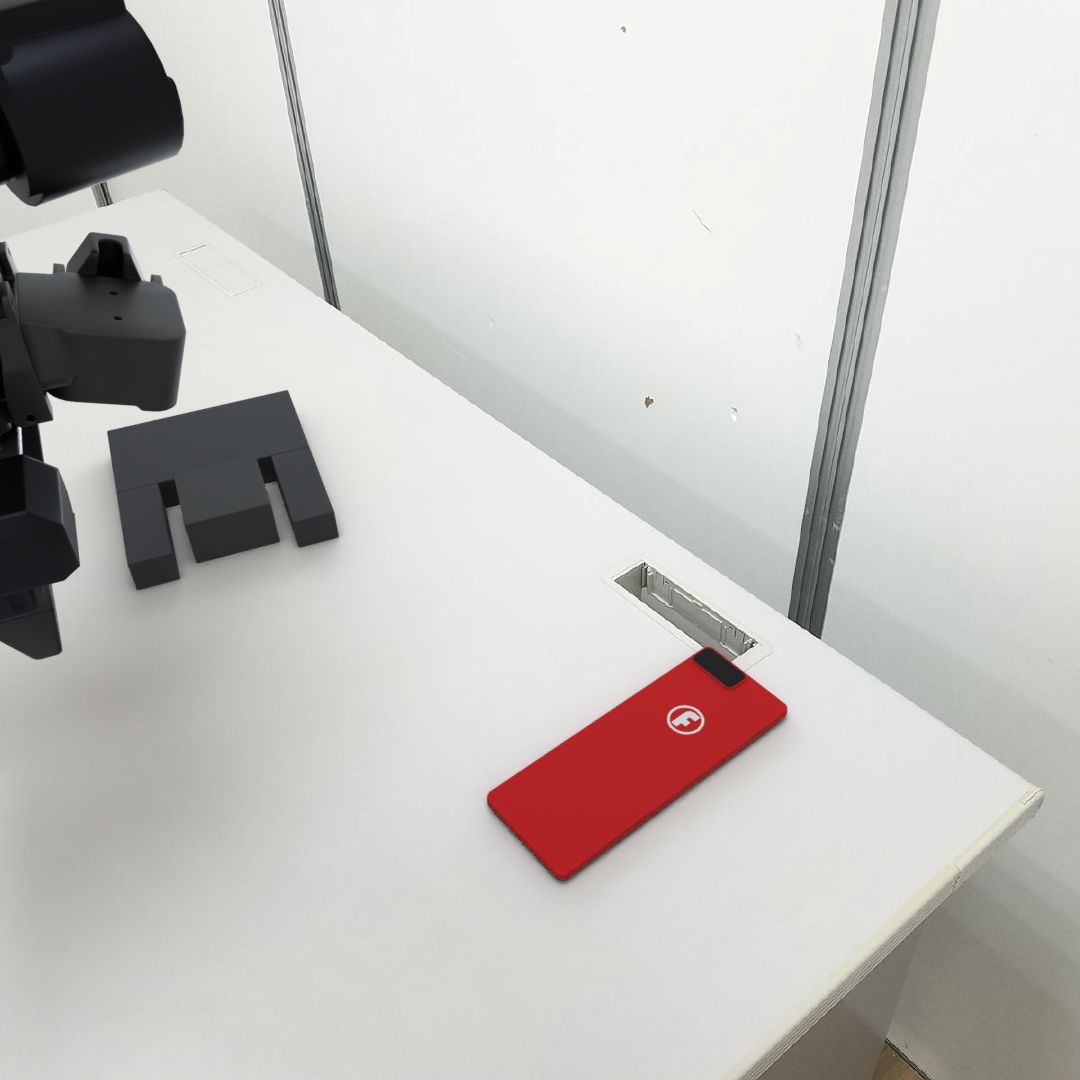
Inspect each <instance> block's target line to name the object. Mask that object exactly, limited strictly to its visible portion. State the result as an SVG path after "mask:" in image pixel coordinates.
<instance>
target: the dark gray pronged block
mask: <svg viewBox="0 0 1080 1080" xmlns="http://www.w3.org/2000/svg"><path fill="white" fill-rule="evenodd" d="M106 435H107V441H108V442H107V443H108V447H109V454H110V459H111V465H112V473H113V479H114V486H115V493H116V499H117V507H118V513H119V519H120V525H121V533H122V538H123V539H122V540H123V545H124V552H125V557H126V563H127V565H126V566H127V568H128V570H129V573H130V575H131V578H132V581H133V583H134V586H135V589H136V590H141V589H145V588H149V587H153V586H156V585H161V584H164V583H168V582H171V581H176V580H179V579H181V575H180V569H179V565H178V560H177V555H176V550H175V546H174V541H173V536H172V532H171V531H172V530H171V527H170V521H169V517H168V510H167V508H168V507H173V506H176V505H180V502H179V498H178V493H177V489H176V484H175V480H174V475H178V474H183V473H187V472H191V471H195V470H199V469H203V468H207V467H211V466H216V465H220V464H224V463H228V462H232V461H236V460H240V459H245V458H249V457H253V456H256V459H257V462H258V465H259V468H260V471H261V475H262V478H263V481H264V484H265V483H269V482H273V481H276V483H277V488H278V489H279V492H280V495H281V498H282V499H281V500H282V502H283V505H284V507H285V508H284V509H285V511H286V513H287V517H288V519H289V523H290V526H291V529H292V531H293V535H294V538H295V542H296V544H297V547H298V548H301V547H305V546H308V545H313V544H317V543H320V542H324V541H327V540H331V539H335V538H338V537H339V536H340V534H339V530H338V524H337V519H336V515H335V514H336V513H335V511H334V510H335V509H334V508H333V505H332V503H331V500H330V497H329V494H328V492H327V489H326V487H325V484H324V482H323V479H322V476H321V474H320V471H319V468H318V465H317V463H316V460H315V457H314V455H313V452H312V450H311V447H310V445H309V442H308V441H309V440H308V439H307V436H306V434H305V431H304V428H303V426H302V423H301V421H300V418H299V415H298V413H297V410H296V407H295V405H294V402H293V399H292V397H291V394H290V392H289V390H288V389H284V390H281V391H280V390H279V391H276V392H272V393H267V394H263V395H258V396H254V397H250V398H246V399H240V400H236V401H233V402H227V403H223V404H219V405H215V406H210V407H205V408H202V409H197V410H193V411H189V412H184V413H180V414H175V415H171V416H166V417H162V418H157V419H152V420H148V421H144V422H140V423H136V424H131V425H126V426H123V427H118V428H114V429H109V430H107V431H106Z"/></svg>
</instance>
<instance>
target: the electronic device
mask: <svg viewBox="0 0 1080 1080" xmlns="http://www.w3.org/2000/svg"><path fill="white" fill-rule="evenodd" d="M787 715H788V705H787V704H786V702H784V701H782V699H780V698H778V696H776V695H775V694H774V693H772V692H771V691H770V690H768V689H767V688H766V687H764V685H762V684H761V683H759V682H758V681H757V680H755V679H754V678H753V677H752V676H750V675H749V674H747V673H746V671H744V670H742V669H741V668H740V667H739V666H737V665H736V664H735V663H733V662H732V661H731V660H730V659H729V658H728V657H726V656H725V655H723V654H722V653H721V652H719V651H718V650H717V649H715V648H714V647H712V646H705V647H702V648H701V649H699V650H698V651H696V652H695V653H693V654H692V655H691V656H689V657H687V658H686V659H685V660H683V661H681V662H680V663H679V664H677V665H676V666H674V667H672V668H671V669H669V670H668V671H667V672H666V673H664V674H662V675H660V676H659V677H658V678H656V679H655V680H653V681H652V682H650V683H648V684H647V685H646V686H644V687H643V688H641V689H640V690H639V691H637V692H636V693H634V694H632V695H631V696H629V697H628V698H626V699H625V700H623V701H622V702H620V703H619V704H618V705H616V706H615V707H613V708H612V709H610V710H608V711H607V712H606V713H604V714H603V715H601V716H600V717H598V718H597V719H595V720H594V721H592V722H591V723H589V724H588V725H586V726H585V727H583V728H582V729H581V730H579V731H577V732H576V733H575V734H572V736H570V737H568V738H567V739H565V740H563V741H562V742H561V743H560V744H558V745H557V746H555V747H554V748H552V749H551V750H549V751H547V752H546V753H545V754H543V755H541V756H540V757H539V758H537V759H535V760H534V761H532V762H531V763H530V764H528V765H527V766H525V767H524V768H522V769H521V770H519V771H518V772H516V773H515V774H513V775H512V776H510V777H509V778H508V779H506V780H504V781H503V782H501V783H500V784H499V785H497V786H495V787H494V788H492V789H491V790H489V791H488V793H487V795H486V803H487V806H488V808H490V809H491V810H492V811H493V812H494V814H495V815H496V816H497V817H498V818H499V819H500V820H501V821H502V822H503V823H504V824H505V826H506V827H508V829H509V830H511V832H512V833H513V834H514V835H515V836H516V837H517V838H518V839H519V840H520V841H521V843H523V844H524V845H525V847H527V849H528V850H529V851H530V852H531V853H532V854H533V855H534V857H536V859H538V860H539V861H540V862H541V864H542V865H543V866H544V867H545V868H546V869H547V870H548V871H549V872H550V873H551V875H553V876H554V878H556V879H557V880H560V881H566V880H569V879H570V878H571V877H572V876H574V875H576V874H577V873H578V872H580V871H581V870H582V869H583V868H585V867H586V866H588V865H589V864H590V863H592V862H593V861H594V860H596V859H598V857H600V856H601V855H603V853H606V852H607V850H609V849H610V848H612V847H613V846H614V845H616V844H617V843H619V842H620V841H621V840H622V839H624V838H625V837H626V836H628V835H629V834H631V833H632V832H633V831H634V830H636V829H637V828H639V827H640V826H641V825H642V824H644V823H646V821H649V819H650V818H653V816H654V815H656V814H657V813H658V812H660V811H661V810H662V809H664V808H665V807H667V806H668V805H670V804H671V803H672V802H673V801H675V800H676V799H677V798H679V797H681V795H683V794H685V792H687V791H688V790H690V789H691V788H692V787H694V786H695V785H697V784H698V783H699V782H700V781H701V780H703V779H704V778H706V777H707V776H708V775H710V774H711V773H712V772H714V771H715V770H716V769H718V768H719V767H721V766H722V765H723V764H724V763H726V762H727V761H728V760H730V759H731V758H733V757H734V756H735V755H736V754H738V753H739V752H741V751H742V750H743V749H745V748H746V747H747V746H749V745H750V744H752V743H753V742H754V741H755V740H757V739H758V738H759V737H761V736H762V735H763V734H765V733H767V731H769V730H770V729H771V728H772V727H774V726H775V725H777V724H778V723H780V722H781V721H782V720H784V719H785V718H786V717H787Z"/></svg>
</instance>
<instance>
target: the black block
mask: <svg viewBox="0 0 1080 1080" xmlns="http://www.w3.org/2000/svg"><path fill="white" fill-rule="evenodd" d="M174 480H175V484H176V489H177V493H178V498H179V502H180V504H179V507H180V511H181V516H182V520H183V524H184V528H185V531H186V534H187V537H188V540H189V544H190V547H191V550H192V552H193V556H194V559H195V562H196V563H198V564H199V563H201V562H206V561H209V560H213V559H217V558H218V559H219V558H221V557H225V556H229V555H233V554H237V553H240V552H243V551H248V550H251V549H252V550H253V549H256V548H259V547H263V546H267V545H271V544H276V543H279V542H280V541H281V539H280V536H279V532H278V528H277V523H276V520H275V519H276V518H275V515H274V511H273V506H272V504H271V503H272V502H271V499H270V497H269V493H268V491H267V488H266V485H265V483H264V481H263V478H262V475H261V471H260V468H259V465H258V462H257V459H256V456H253V457H249V458H245V459H240V460H236V461H232V462H228V463H224V464H220V465H216V466H211V467H207V468H203V469H199V470H195V471H191V472H187V473H183V474H178V475H174Z"/></svg>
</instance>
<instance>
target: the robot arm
mask: <svg viewBox="0 0 1080 1080" xmlns="http://www.w3.org/2000/svg"><path fill="white" fill-rule="evenodd" d="M183 112H184V111H183V107H182V102H181V97H180V93H179V91H178V86H177V84H176V81H175V80H174V79H173V78H172V77H171V76H168V75H167V72H166V69H165V67H164V64H163V62H162V60H161V58H160V56H159V54H158V52H157V50H156V48H155V46H154V44H153V42H152V41H151V39H150V38H149V36H148V35H147V32H146V31H145V30H144V28H143V27H142V25H141V24H140V23H139V22H138V21H137V19H136V17H134V16H133V15H132V13H131V12H130V11H129V10H128V9H127V5H126V2H125V0H0V187H1V186H4V185H5V186H6V187H7V188H8V189H9V191H10V192H11V193H12V194H13V195H14V196H15V197H17V198H18V199H19V200H20V201H21V202H22V203H23V204H25V205H27V206H30V207H35V208H36V207H39V206H41V205H44V204H48V203H50V202H52V201H55V200H59V199H62V198H64V197H67V196H69V195H72V194H74V193H79V192H80V191H83V190H86V189H88V188H92V187H94V186H97V185H99V184H100V185H101V184H102V183H106V182H108V181H111V180H114V179H117V178H119V177H122V176H125V175H127V174H131V173H134V172H136V171H139V170H142V169H145V168H147V167H150V166H153V165H155V164H158V163H162V162H165V161H166V160H169V159H172V158H174V157H176V156H178V154H179V153H180V151H181V150H182V148H183V144H184V138H185V119H184V113H183ZM186 337H187V328H186V325H185V321H184V316H183V313H182V310H181V306H180V303H179V299H178V296H177V294H176V292H175V291H174V290H173V289H171V288H170V287H169V286H167V285H165V284H164V281H163V277H162V275H161V274H153V273H152V274H150V281H149V280H146V279H145V277H144V275H143V271H142V269H141V266H140V264H139V262H138V260H137V257H136V255H135V252H134V251H133V248H132V246H131V243H130V241H129V239H128V237H126V236H125V235H121V234H112V233H104V232H95V231H90V232H88V233H87V235H86V236H85V238H84V239H83V241H82V242H81V243H80V244H79V246H78V247H77V249H76V250H75V251H74V253H73V255H72V256H71V257H70V259H69V260H68V262H67V263H66V265H65V264H63V263H56V262H55V263H52V273H46V272H45V273H44V272H43V273H41V272H21V271H19V269H18V268H17V265H16V262H15V260H14V257H13V255H12V251H11V249H10V247H9V245H8V243H7V241H5V240H4V241H0V642H1V643H2V644H4V645H7V646H8V647H10V648H12V649H13V650H16V651H17V652H19V653H21V654H23V655H24V656H27V657H28V658H30V659H32V660H35V661H39V660H44V659H48V658H51V657H56V656H59V655H60V654H61V653H62V652H63V642H62V637H61V636H62V635H61V631H60V623H59V618H58V617H59V616H58V612H57V611H58V610H57V606H56V602H55V601H56V600H55V595H54V589H53V584H57V583H61V582H64V581H66V580H67V579H68V578H70V576H71V575H72V574H74V573H75V571H77V570H78V569H79V568H80V567H81V561H80V559H81V558H80V550H79V549H80V548H79V541H78V532H77V531H78V530H77V522H76V521H77V520H76V513H75V512H74V511H73V506H72V504H71V499H70V496H69V491H68V489H67V487H66V484H65V481H64V479H63V477H62V474H61V472H60V469H59V468H58V467H56V466H54V465H51V464H50V463H46V462H45V458H44V451H43V445H42V438H41V437H42V436H41V430H40V429H41V428H40V424H43V423H49V422H53V421H54V412H53V411H54V410H53V405H52V403H51V400H50V398H49V395H50V396H51V397H53V398H56V399H58V400H59V401H60V400H61V401H65V402H69V403H70V402H71V403H81V404H99V405H111V406H112V405H115V406H129V407H136V408H138V409H139V410H140V411H142V412H151V413H153V412H159V413H160V412H165V411H168V410H172V408H174V407H175V406H176V405H177V403H178V397H179V390H180V383H181V374H182V367H183V361H184V353H185V345H186V339H187V338H186ZM48 394H49V395H48Z"/></svg>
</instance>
